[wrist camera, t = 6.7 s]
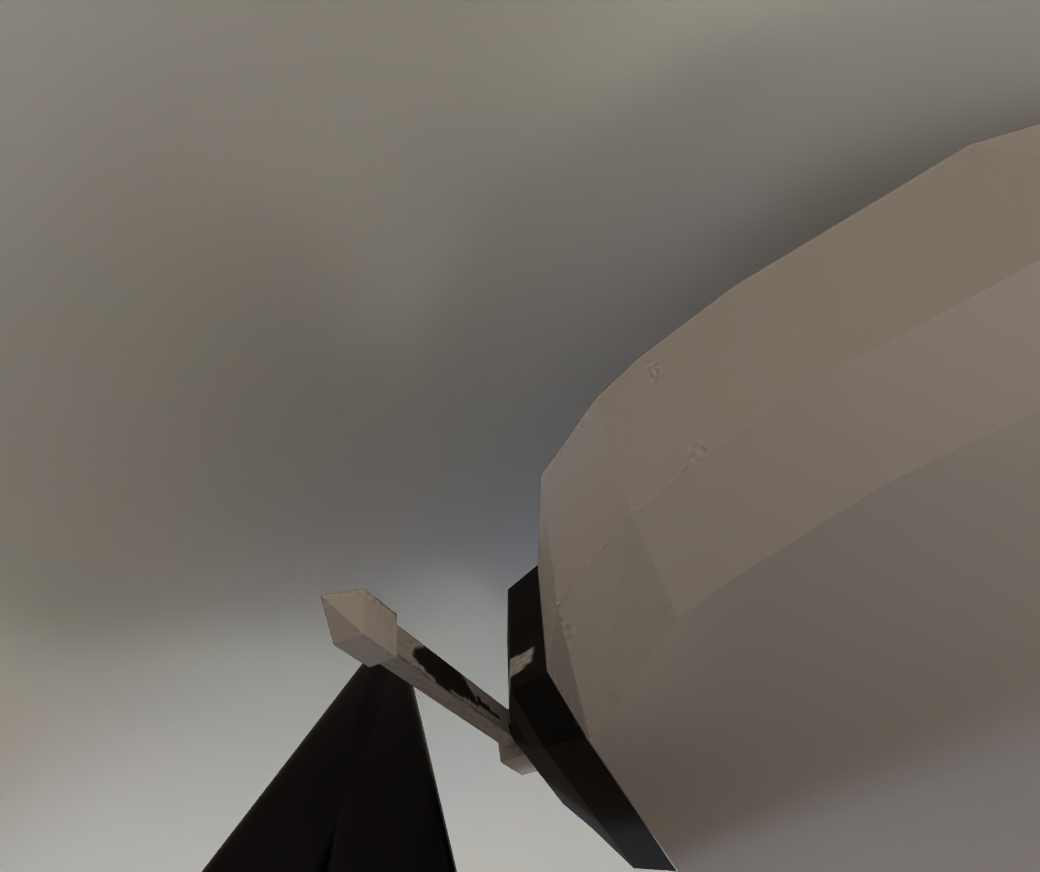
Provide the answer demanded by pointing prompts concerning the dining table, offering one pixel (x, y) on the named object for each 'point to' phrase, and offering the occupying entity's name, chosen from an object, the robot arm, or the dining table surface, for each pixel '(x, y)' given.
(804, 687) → the robot toy
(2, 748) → the dining table surface
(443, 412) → the dining table surface
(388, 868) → the robot arm
